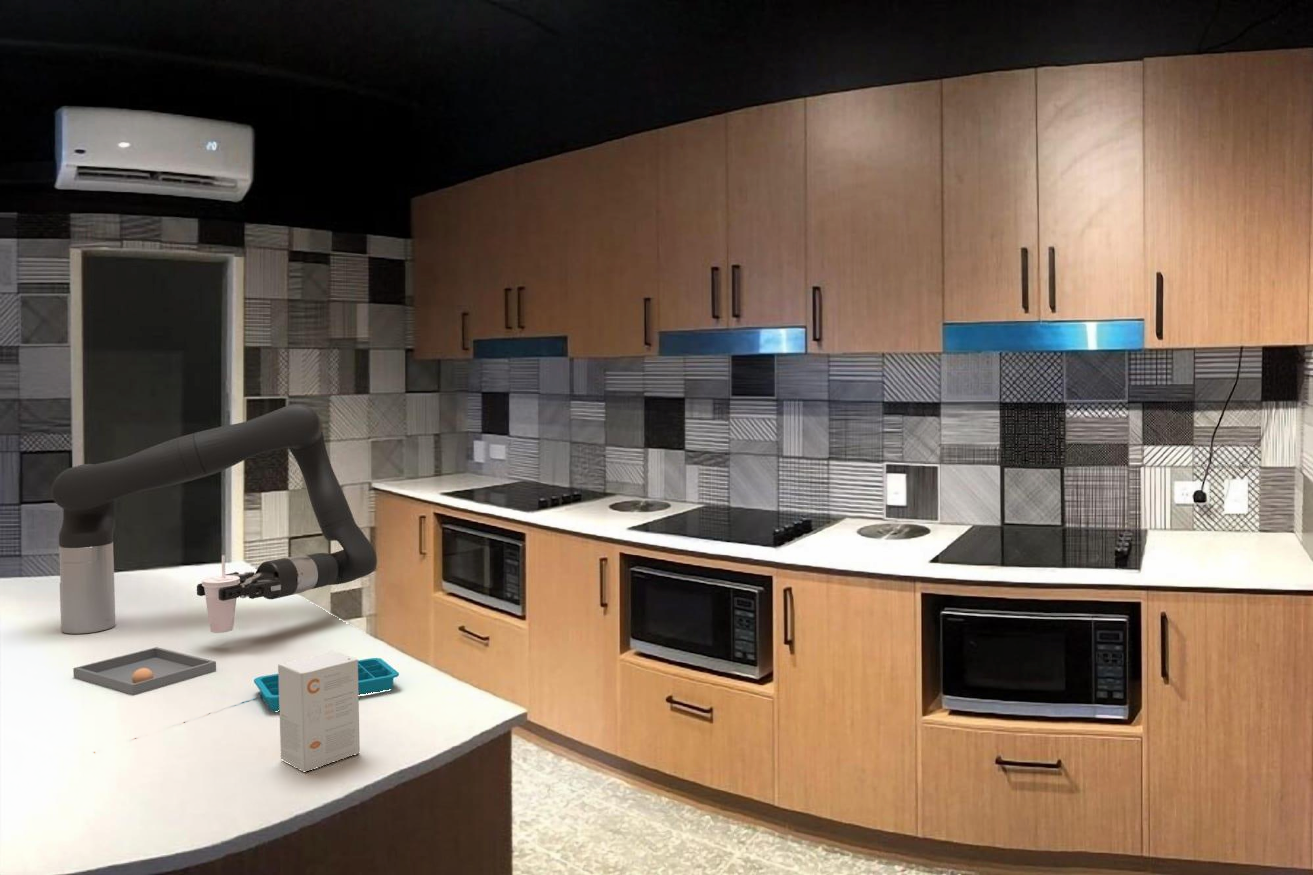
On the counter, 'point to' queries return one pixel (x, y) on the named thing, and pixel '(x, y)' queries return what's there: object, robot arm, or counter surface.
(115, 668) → the tray
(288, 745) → the small box
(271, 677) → the ice cube tray
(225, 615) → the smoothie
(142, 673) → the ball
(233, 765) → the counter surface
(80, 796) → the counter surface
